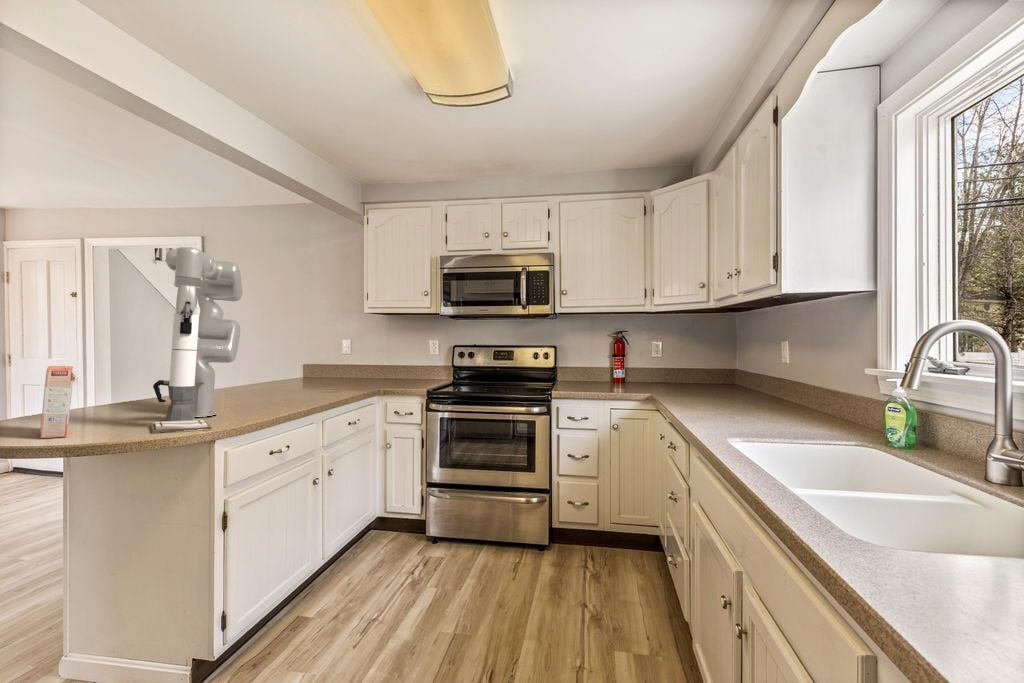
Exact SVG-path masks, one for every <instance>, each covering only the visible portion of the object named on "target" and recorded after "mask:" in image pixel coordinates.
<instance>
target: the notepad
mask: <svg viewBox="0 0 1024 683" xmlns="http://www.w3.org/2000/svg"><path fill="white" fill-rule="evenodd" d="M150 428H151V429H152V430H151V434H152V433H153V434H161V433H160V432H170V433H174V432H173V431H184V430H198V429H211V430H212V426H211V425H210V424H209V423H208V422H207V421H206V420H204V419H195V420H183V421H165V420H164V421H154V423H150Z"/></svg>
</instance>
